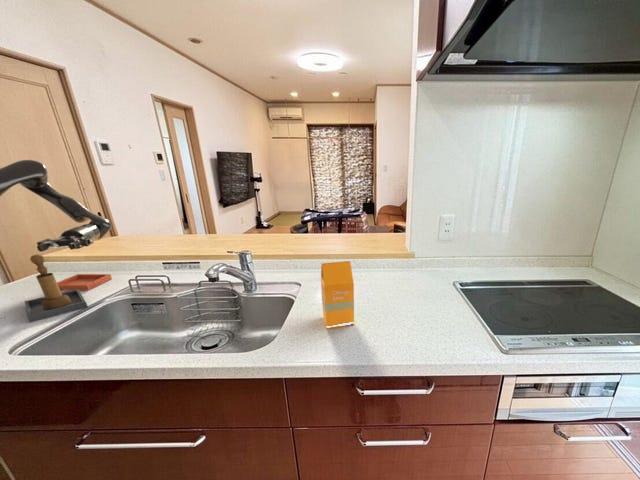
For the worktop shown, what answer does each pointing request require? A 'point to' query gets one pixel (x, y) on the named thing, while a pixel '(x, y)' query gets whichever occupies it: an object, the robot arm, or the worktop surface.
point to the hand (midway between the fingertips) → (55, 247)
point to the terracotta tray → (83, 281)
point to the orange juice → (337, 293)
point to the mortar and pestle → (49, 286)
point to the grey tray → (38, 312)
